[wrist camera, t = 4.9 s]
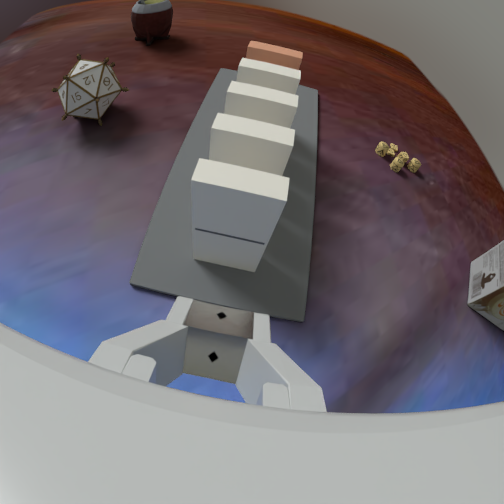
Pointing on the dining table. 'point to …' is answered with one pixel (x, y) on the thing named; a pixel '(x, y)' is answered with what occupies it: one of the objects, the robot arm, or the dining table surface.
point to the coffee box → (488, 285)
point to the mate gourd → (152, 19)
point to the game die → (89, 89)
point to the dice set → (400, 159)
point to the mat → (278, 248)
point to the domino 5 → (234, 212)
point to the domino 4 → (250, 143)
